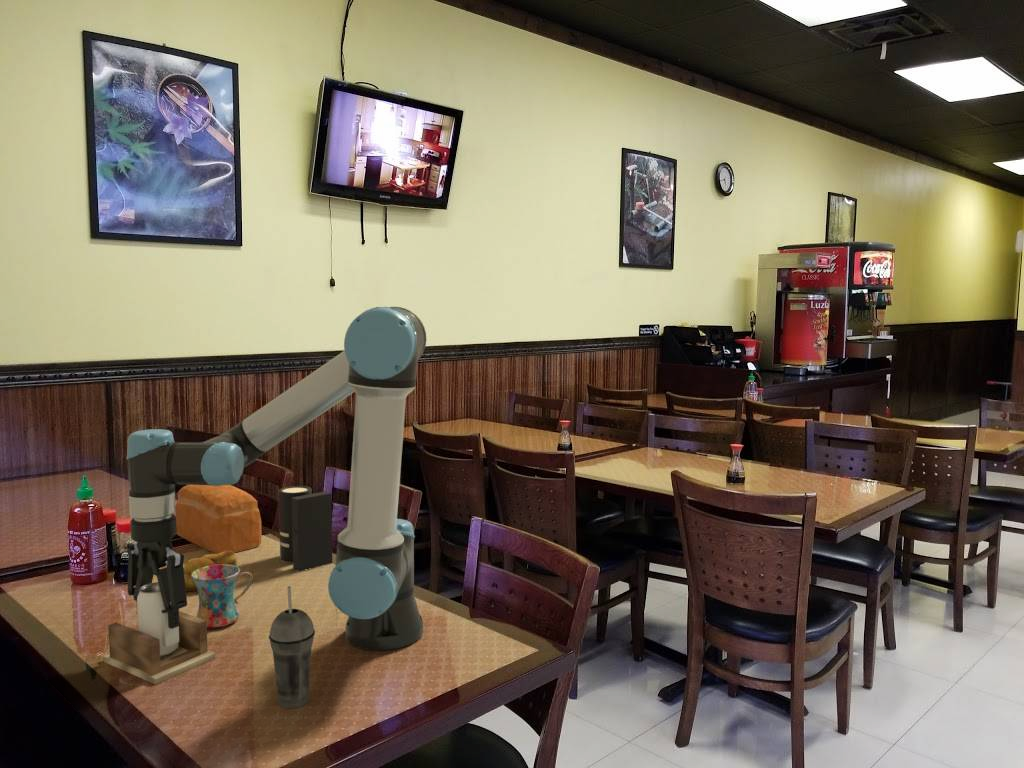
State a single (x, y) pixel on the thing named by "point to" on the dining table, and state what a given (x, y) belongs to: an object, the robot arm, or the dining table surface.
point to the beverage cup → (292, 654)
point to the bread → (218, 518)
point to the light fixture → (305, 527)
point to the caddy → (158, 650)
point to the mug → (218, 593)
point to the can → (152, 615)
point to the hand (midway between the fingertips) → (158, 638)
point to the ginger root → (206, 560)
